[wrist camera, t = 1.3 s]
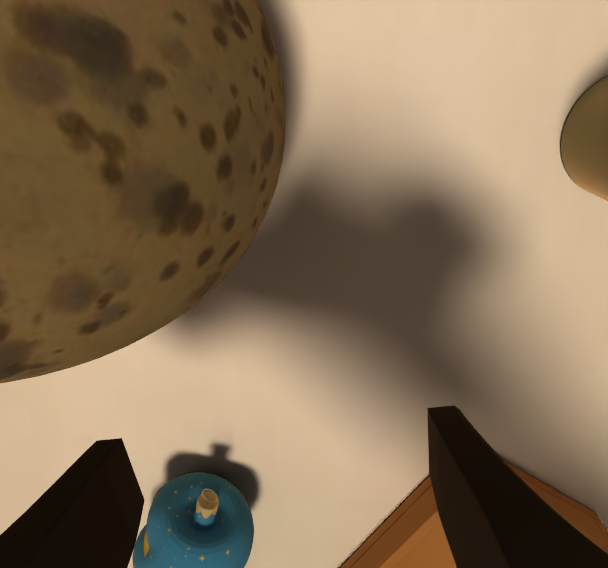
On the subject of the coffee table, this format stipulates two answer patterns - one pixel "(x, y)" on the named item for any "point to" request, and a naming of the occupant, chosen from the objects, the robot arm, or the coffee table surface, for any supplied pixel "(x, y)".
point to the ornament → (196, 526)
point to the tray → (431, 537)
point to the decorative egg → (127, 166)
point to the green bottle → (588, 141)
